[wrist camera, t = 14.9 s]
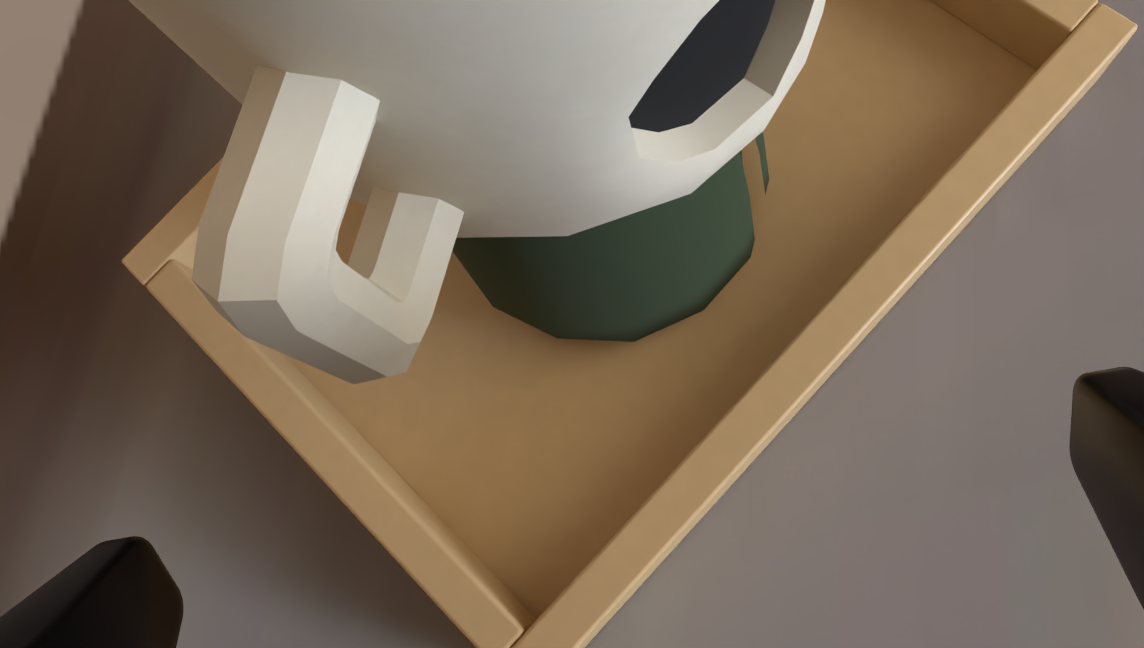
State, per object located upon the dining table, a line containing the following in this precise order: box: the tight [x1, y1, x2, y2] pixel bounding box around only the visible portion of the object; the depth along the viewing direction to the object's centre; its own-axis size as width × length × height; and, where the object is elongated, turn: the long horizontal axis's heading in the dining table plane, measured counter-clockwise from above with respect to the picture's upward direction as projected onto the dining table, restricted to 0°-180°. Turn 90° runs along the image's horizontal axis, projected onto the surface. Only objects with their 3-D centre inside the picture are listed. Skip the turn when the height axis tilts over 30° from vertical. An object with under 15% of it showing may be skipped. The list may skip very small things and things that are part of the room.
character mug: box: [129, 0, 826, 384], centre depth 12 cm, size 11×7×13 cm, turn 165°
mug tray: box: [122, 0, 1137, 648], centre depth 18 cm, size 12×16×2 cm
